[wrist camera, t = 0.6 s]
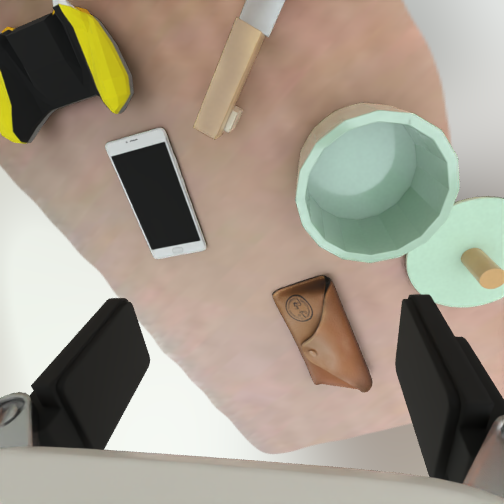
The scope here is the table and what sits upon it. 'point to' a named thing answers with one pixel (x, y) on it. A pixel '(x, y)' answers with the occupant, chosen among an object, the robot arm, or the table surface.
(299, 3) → the table surface
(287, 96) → the table surface
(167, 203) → the smartphone
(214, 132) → the knife
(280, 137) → the table surface
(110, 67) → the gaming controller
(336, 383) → the sunglasses case
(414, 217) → the pot
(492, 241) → the lid
